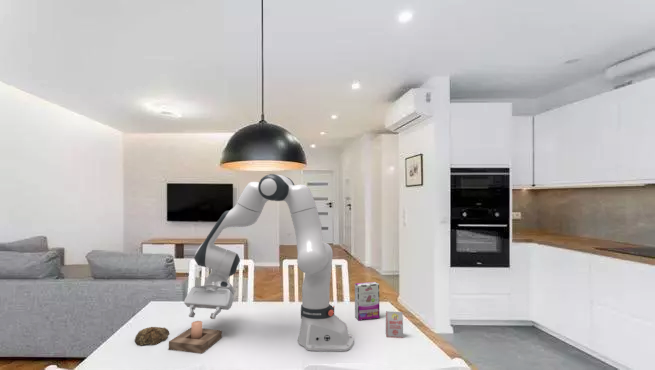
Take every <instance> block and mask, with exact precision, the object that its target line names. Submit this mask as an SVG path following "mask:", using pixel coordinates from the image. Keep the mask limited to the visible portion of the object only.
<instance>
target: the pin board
mask: <svg viewBox="0 0 655 370" xmlns="http://www.w3.org/2000/svg"><path fill="white" fill-rule="evenodd" d="M222 338H223V330H222V329H210V328H203V327H202V338H200V339H199V340H198V339H191V327H189V328H188V329H186V330H184V331H183V332H182V333H180V334H179V335H177V336H176V337H173V338H172V339H170V340H169V341H168V351H178V352H186V353H195V354H203V353H204V352H206V351H208V349H210V348H212V346H213V345H214V344H216V343H217V342H219V341H220V340H221V339H222Z"/></svg>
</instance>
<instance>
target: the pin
mask: <svg viewBox="0 0 655 370" xmlns="http://www.w3.org/2000/svg"><path fill="white" fill-rule="evenodd" d="M190 328H191V339H198V340H199V339H200V338H202V328H203V321H201V320H196V321H193V322H191V327H190Z"/></svg>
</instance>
